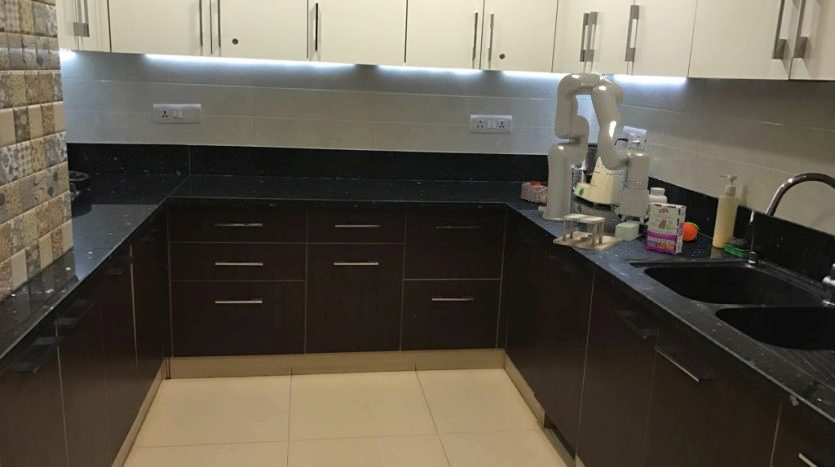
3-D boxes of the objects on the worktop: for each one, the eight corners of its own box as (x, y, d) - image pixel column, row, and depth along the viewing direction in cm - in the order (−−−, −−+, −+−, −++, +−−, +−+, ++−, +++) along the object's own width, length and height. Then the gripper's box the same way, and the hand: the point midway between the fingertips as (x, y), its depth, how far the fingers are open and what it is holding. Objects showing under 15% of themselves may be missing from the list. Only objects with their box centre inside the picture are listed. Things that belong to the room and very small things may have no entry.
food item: (549, 203, 326) (551, 182, 324) (536, 204, 322) (537, 183, 320) (531, 199, 338) (532, 178, 335) (517, 200, 334) (519, 179, 331)
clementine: (702, 241, 257) (704, 222, 256) (693, 244, 253) (695, 225, 251) (681, 237, 263) (683, 219, 261) (672, 240, 258) (674, 221, 257)
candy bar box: (681, 253, 239) (687, 205, 236) (675, 255, 236) (680, 207, 232) (651, 246, 247) (656, 201, 243) (644, 249, 244) (649, 202, 240)
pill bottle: (667, 227, 281) (671, 190, 277) (647, 226, 280) (650, 189, 277) (660, 223, 288) (663, 187, 285) (640, 222, 288) (644, 186, 285)
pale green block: (614, 238, 258) (615, 225, 257) (627, 232, 268) (628, 220, 267) (629, 241, 255) (630, 227, 254) (641, 235, 265) (643, 222, 264)
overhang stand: (553, 242, 249) (555, 215, 247) (576, 233, 265) (578, 207, 262) (601, 251, 238) (604, 222, 236) (622, 241, 254) (625, 214, 252)
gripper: (611, 184, 262) (606, 231, 266) (656, 189, 253) (651, 238, 257) (618, 182, 268) (614, 228, 272) (663, 187, 258) (658, 234, 263)
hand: (632, 232), depth 264 cm, fingers closed on pale green block, 5 cm apart
